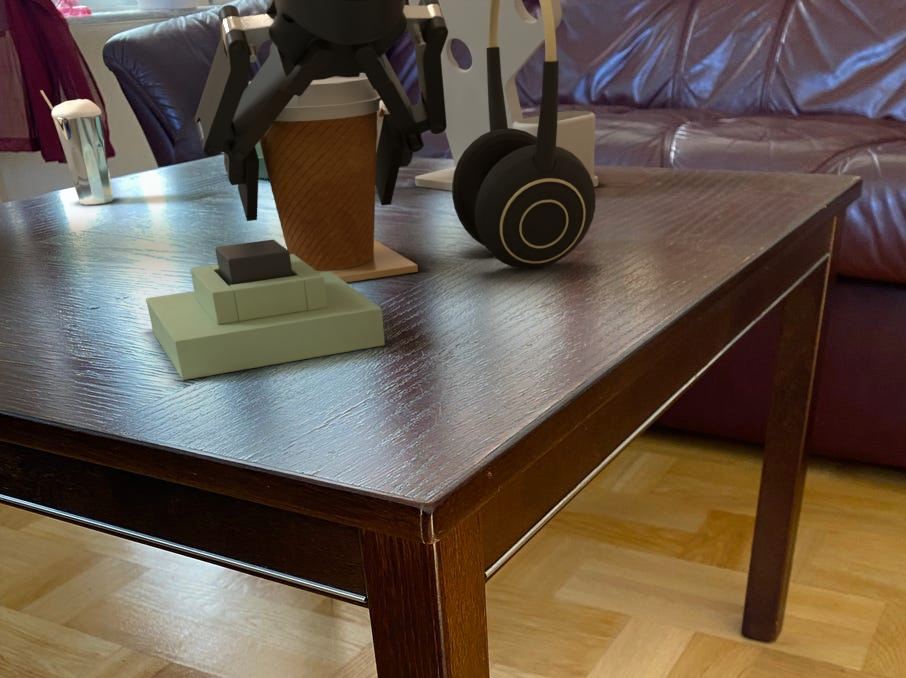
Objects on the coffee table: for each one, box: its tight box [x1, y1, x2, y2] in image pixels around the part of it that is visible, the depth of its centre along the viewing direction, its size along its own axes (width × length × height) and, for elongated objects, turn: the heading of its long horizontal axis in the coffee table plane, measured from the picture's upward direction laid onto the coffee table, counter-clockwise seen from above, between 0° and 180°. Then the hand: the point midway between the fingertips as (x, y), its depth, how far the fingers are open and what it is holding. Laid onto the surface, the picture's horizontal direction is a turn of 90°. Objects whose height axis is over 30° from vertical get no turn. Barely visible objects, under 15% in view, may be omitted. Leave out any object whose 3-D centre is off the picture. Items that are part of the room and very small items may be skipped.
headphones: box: [451, 0, 597, 270], centre depth 71 cm, size 9×15×20 cm, turn 14°
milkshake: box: [39, 89, 114, 206], centre depth 100 cm, size 5×5×10 cm
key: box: [214, 239, 293, 286], centre depth 60 cm, size 4×4×2 cm
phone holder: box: [408, 0, 599, 192], centre depth 97 cm, size 17×10×18 cm, turn 49°
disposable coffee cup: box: [248, 72, 381, 270], centre depth 73 cm, size 10×10×12 cm
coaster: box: [314, 239, 419, 283], centre depth 77 cm, size 10×10×1 cm
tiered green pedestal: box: [145, 254, 386, 381], centre depth 61 cm, size 10×12×4 cm
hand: (315, 196), depth 77 cm, fingers open, 10 cm apart
